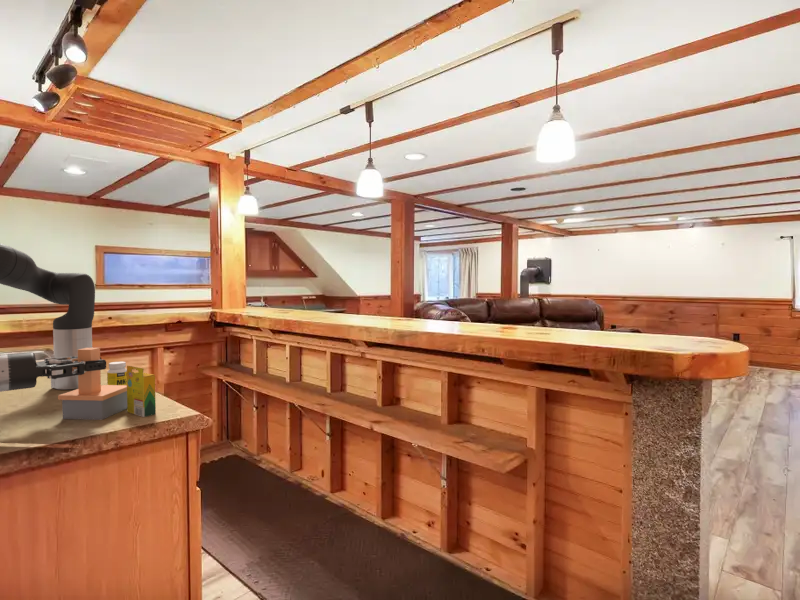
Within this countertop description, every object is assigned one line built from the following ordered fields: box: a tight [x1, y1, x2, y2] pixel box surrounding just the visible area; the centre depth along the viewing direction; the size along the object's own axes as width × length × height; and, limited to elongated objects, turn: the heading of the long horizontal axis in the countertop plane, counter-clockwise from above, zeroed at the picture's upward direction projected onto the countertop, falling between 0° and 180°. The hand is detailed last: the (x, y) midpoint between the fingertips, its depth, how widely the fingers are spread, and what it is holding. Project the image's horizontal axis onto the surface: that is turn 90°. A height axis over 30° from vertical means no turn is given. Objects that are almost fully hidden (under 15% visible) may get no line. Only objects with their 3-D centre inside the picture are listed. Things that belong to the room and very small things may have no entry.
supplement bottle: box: [106, 361, 127, 385], centre depth 126 cm, size 5×5×8 cm
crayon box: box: [126, 365, 157, 418], centre depth 106 cm, size 7×3×12 cm, turn 58°
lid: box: [57, 347, 127, 401], centre depth 105 cm, size 10×10×11 cm
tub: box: [61, 391, 127, 421], centre depth 105 cm, size 9×9×5 cm
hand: (103, 362), depth 104 cm, fingers open, 4 cm apart
